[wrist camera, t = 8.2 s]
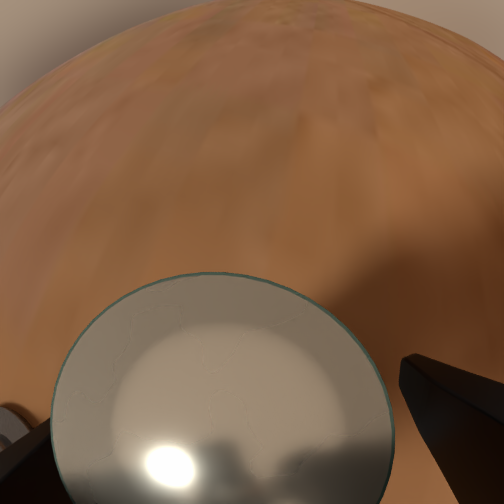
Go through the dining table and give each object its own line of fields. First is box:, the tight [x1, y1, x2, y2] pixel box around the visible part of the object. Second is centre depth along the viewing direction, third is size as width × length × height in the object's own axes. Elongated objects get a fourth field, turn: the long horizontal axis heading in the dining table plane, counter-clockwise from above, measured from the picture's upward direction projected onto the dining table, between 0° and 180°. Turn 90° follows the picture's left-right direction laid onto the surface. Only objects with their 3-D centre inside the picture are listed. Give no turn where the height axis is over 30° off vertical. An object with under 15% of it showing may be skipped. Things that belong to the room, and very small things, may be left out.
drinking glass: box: [50, 272, 395, 504], centre depth 7 cm, size 5×5×9 cm
